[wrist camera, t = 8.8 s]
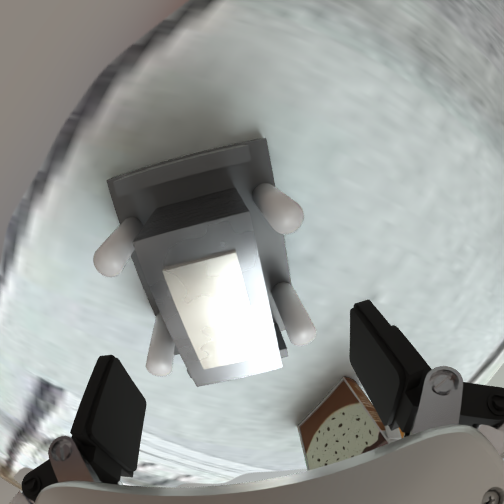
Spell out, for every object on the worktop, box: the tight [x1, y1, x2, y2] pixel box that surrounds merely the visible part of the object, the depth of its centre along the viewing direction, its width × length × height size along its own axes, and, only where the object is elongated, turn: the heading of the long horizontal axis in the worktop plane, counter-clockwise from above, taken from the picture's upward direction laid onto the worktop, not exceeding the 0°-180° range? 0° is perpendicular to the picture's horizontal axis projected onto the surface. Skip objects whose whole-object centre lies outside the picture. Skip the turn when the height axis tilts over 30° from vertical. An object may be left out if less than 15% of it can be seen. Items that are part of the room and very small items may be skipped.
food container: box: [297, 377, 402, 470], centre depth 24 cm, size 12×6×10 cm, turn 154°
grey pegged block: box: [93, 138, 317, 378], centre depth 16 cm, size 10×14×6 cm
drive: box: [132, 187, 283, 387], centre depth 16 cm, size 5×9×6 cm, turn 12°
